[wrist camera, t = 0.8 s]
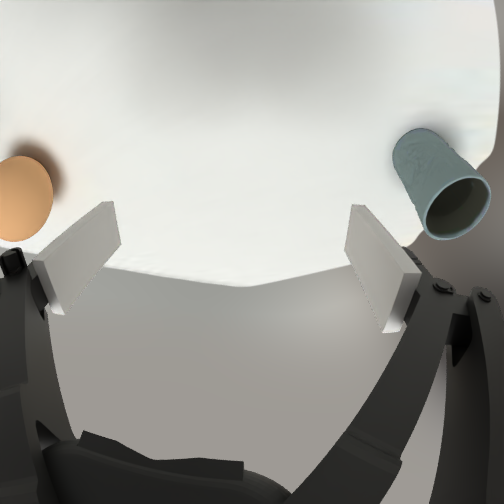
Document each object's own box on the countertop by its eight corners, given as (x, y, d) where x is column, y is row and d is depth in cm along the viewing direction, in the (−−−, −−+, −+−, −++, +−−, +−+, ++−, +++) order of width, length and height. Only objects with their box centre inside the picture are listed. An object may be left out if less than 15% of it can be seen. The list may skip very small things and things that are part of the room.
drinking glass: (375, 149, 33) (410, 209, 25) (431, 109, 27) (483, 160, 19) (407, 192, 38) (437, 252, 30) (455, 158, 32) (496, 213, 25)
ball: (0, 162, 32) (-41, 214, 23) (34, 125, 28) (-19, 181, 20) (40, 210, 41) (9, 265, 33) (80, 185, 38) (43, 248, 29)
